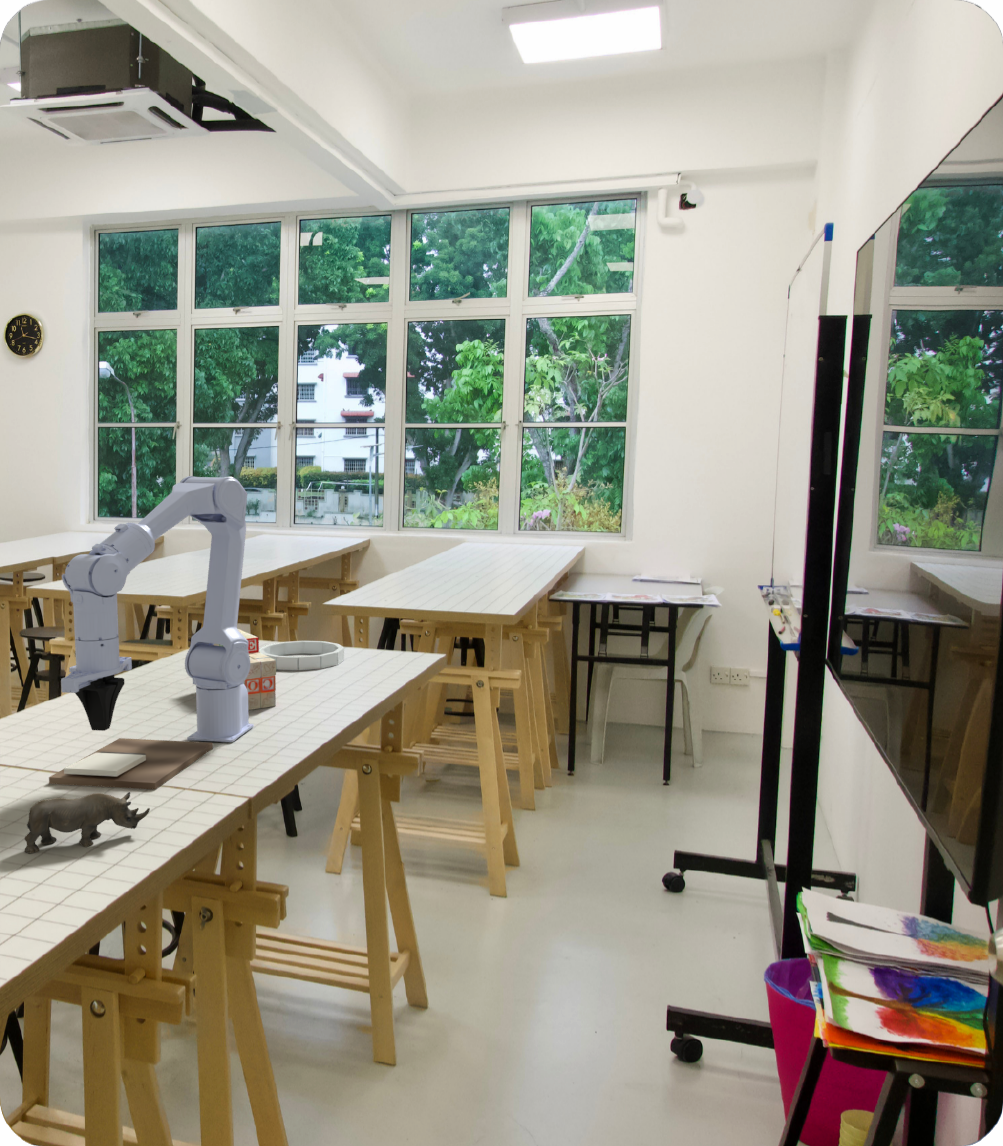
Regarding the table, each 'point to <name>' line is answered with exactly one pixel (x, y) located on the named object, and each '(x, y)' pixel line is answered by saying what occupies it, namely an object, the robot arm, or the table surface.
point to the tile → (105, 764)
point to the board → (141, 764)
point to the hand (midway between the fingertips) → (100, 729)
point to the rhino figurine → (78, 817)
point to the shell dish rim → (329, 656)
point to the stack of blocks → (259, 676)
